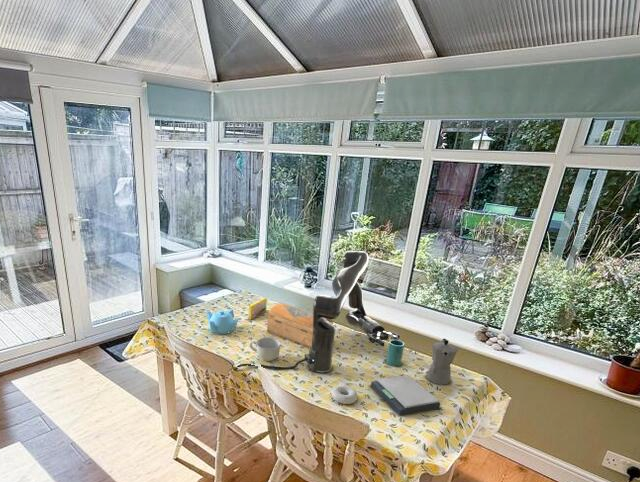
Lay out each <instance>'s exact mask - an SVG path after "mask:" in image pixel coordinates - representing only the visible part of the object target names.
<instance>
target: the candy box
mask: <svg viewBox="0 0 640 482" xmlns="http://www.w3.org/2000/svg"><path fill="white" fill-rule="evenodd" d="M267 300H268V298H267V297H263V298H261V299H259V300H257V301H256V302H253V303H251V304H249V305H248V320H250V321H252V320H253V319H255V318H256V317H259V316H261V315H262V314H263V313H265V312H266V311H267V302H268V301H267Z"/></svg>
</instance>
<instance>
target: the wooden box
mask: <svg viewBox="0 0 640 482" xmlns="http://www.w3.org/2000/svg"><path fill="white" fill-rule="evenodd" d="M325 319H326V320H327V321H328V322H330V323H331V324H333V325H334V320H333V319H327V318H325ZM266 321H267V323H266V331H267V332H268V333H271V334H273V335H276V336H278V337H282V338H283V339H287V340H289V341H292V342H295V343H297V344H300V345H303V346H305V347H308V348H310V346H312V335H313V311H311V310H308V309H304V308H301V307H297V306H294V305H290V304H287V303H283V302H278V303H276V304H274V305H273V306H271V308H270V309H269V310H268V313H267V319H266Z"/></svg>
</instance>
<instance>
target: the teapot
mask: <svg viewBox="0 0 640 482" xmlns="http://www.w3.org/2000/svg"><path fill="white" fill-rule="evenodd" d="M205 313H206V317H207V318H206V319H207V321H208V329H209V331H211V333H213V334H216V335H220V336H221V335H223V336H224V335H228V334H231V333H232V332H233V331H234V330H235V329H236V326H237V324H238V321H239V318H238V317H235V314H234V310H233V309H231V308H230V309H229V308H228V309H227V310H224V309H221V310H218V311H216V312H214V313H213V314H212V313H211V311H210V310H206V311H205ZM214 332H215V333H214ZM228 332H229V333H228Z"/></svg>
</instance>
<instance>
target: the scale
mask: <svg viewBox="0 0 640 482" xmlns="http://www.w3.org/2000/svg"><path fill="white" fill-rule="evenodd" d="M370 383H371V384H370V387H371V388H372V390H374V391H375V392H376V393H377V394H378V395H379V396H380V397H381V398H382V399H383V401H385V403H386V404H388V405H389V406H390V407H391V409H393V411H395V412H396V413H397V414H398V416H404V415H410V414H416V413H421V412H427V411H434V410H439V409H440V407H441V402H440V400H439V399H438V398H436V397H435V396H434V395H433V394H431V392H429V391H428V390H426V389H425V388H424V387H423V386H422V385H420V383H418V382H417V381H416V380H415V379H414V378H413V377H411V376H409V374H406V375H398V376H391V377H385V378H379V379H377V380H372V381H371V382H370Z"/></svg>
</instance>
